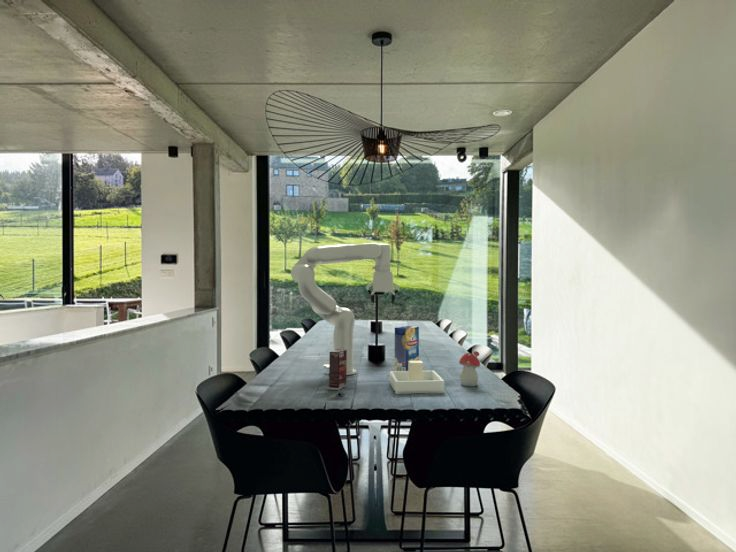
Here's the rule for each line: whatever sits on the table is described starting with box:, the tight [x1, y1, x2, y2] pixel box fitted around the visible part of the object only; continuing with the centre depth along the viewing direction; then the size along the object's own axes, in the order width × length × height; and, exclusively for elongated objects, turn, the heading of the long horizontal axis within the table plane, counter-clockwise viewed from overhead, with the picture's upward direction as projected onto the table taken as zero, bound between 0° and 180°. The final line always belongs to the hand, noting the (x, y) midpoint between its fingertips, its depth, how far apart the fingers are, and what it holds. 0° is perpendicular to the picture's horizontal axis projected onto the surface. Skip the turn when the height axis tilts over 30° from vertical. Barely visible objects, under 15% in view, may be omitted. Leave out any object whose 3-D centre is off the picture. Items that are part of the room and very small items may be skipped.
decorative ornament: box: [458, 350, 481, 387], centre depth 234 cm, size 9×7×15 cm
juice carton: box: [408, 360, 424, 381], centre depth 230 cm, size 6×6×10 cm
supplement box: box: [328, 349, 347, 391], centre depth 230 cm, size 9×5×16 cm, turn 160°
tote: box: [389, 370, 445, 395], centre depth 230 cm, size 20×22×5 cm
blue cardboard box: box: [394, 325, 420, 371], centre depth 264 cm, size 7×11×22 cm, turn 142°
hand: (382, 302), depth 271 cm, fingers open, 9 cm apart
